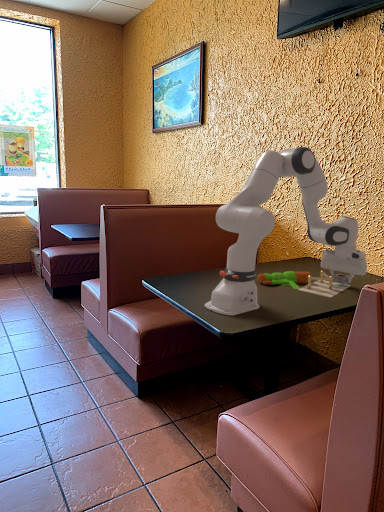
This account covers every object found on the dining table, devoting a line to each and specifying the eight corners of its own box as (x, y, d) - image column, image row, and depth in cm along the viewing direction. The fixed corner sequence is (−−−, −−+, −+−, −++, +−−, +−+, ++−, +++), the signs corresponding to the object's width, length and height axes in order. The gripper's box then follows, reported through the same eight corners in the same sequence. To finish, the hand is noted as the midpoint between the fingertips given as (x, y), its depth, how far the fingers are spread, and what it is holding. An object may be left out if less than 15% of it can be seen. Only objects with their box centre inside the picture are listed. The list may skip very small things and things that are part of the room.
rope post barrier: (325, 293, 164) (326, 279, 163) (305, 288, 170) (307, 275, 169) (338, 286, 176) (340, 273, 175) (320, 281, 182) (321, 269, 181)
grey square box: (344, 284, 173) (345, 278, 172) (332, 281, 176) (333, 275, 175) (349, 282, 177) (349, 276, 176) (337, 279, 180) (338, 273, 180)
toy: (318, 284, 168) (309, 268, 181) (262, 284, 168) (257, 269, 182) (316, 296, 171) (307, 280, 184) (261, 297, 171) (256, 281, 185)
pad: (345, 289, 172) (345, 288, 172) (330, 285, 176) (330, 285, 176) (350, 286, 177) (350, 285, 177) (336, 282, 182) (336, 282, 182)
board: (329, 300, 159) (330, 297, 159) (296, 292, 168) (297, 289, 168) (350, 288, 177) (350, 286, 177) (319, 281, 187) (319, 279, 187)
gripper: (320, 249, 178) (316, 277, 181) (365, 256, 165) (361, 286, 167) (325, 247, 182) (322, 275, 185) (369, 254, 169) (365, 284, 172)
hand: (341, 280), depth 176 cm, fingers closed on grey square box, 5 cm apart
